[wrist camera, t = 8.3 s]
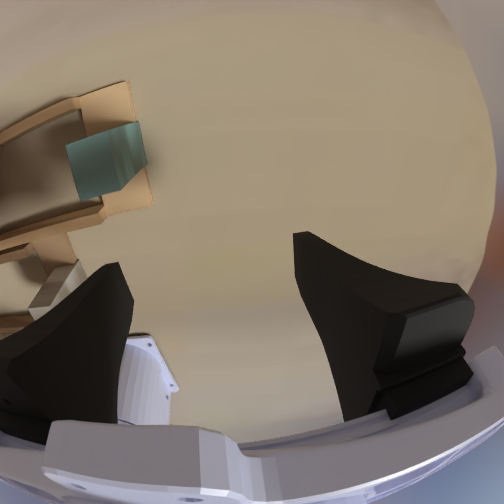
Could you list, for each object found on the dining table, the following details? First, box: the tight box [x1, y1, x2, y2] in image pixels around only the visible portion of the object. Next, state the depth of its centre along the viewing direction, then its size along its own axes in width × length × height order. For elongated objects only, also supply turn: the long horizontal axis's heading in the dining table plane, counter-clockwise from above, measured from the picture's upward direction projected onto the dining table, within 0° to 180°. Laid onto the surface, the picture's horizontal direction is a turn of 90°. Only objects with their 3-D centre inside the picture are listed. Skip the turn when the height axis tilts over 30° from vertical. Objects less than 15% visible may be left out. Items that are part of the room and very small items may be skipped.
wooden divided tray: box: [0, 81, 154, 251], centre depth 14 cm, size 9×20×6 cm, turn 97°
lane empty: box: [0, 233, 87, 334], centre depth 18 cm, size 9×20×6 cm, turn 97°
